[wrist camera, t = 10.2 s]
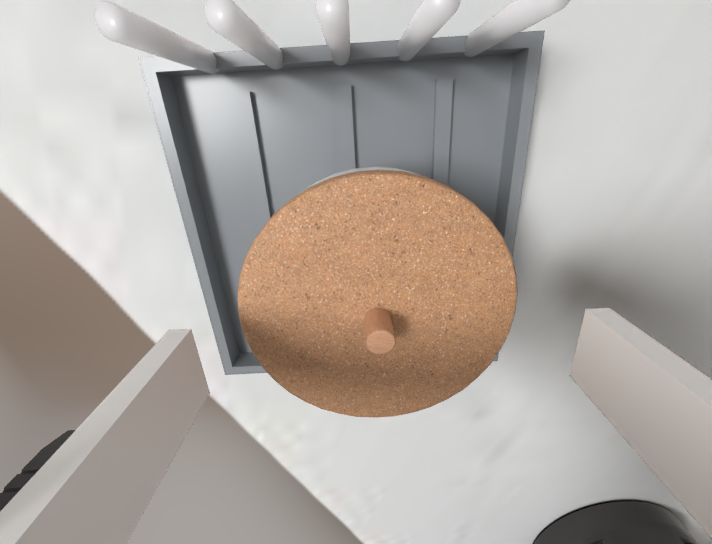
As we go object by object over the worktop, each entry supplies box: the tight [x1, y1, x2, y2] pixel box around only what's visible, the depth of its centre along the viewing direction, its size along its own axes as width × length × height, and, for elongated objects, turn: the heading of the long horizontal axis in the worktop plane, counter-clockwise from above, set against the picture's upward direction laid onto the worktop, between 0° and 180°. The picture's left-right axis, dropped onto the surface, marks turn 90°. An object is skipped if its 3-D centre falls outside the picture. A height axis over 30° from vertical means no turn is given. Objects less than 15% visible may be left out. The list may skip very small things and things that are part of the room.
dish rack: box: [94, 0, 570, 375], centre depth 17 cm, size 18×18×9 cm
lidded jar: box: [237, 167, 517, 417], centre depth 16 cm, size 11×11×9 cm
